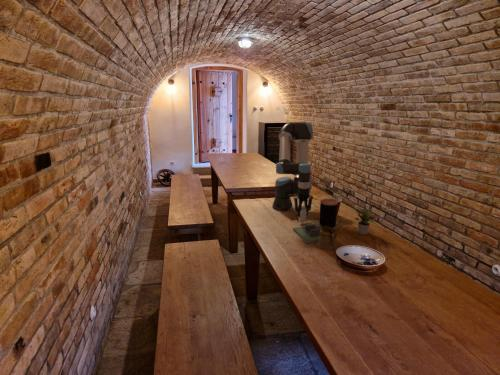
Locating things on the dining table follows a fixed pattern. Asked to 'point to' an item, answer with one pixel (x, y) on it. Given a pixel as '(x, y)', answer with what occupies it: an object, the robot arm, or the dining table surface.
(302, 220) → the plug
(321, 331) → the dining table surface
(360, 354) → the dining table surface
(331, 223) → the coffee jar
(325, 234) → the wooden mug
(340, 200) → the plastic cup
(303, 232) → the board
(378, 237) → the dining table surface
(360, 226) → the house plant
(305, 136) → the robot arm
